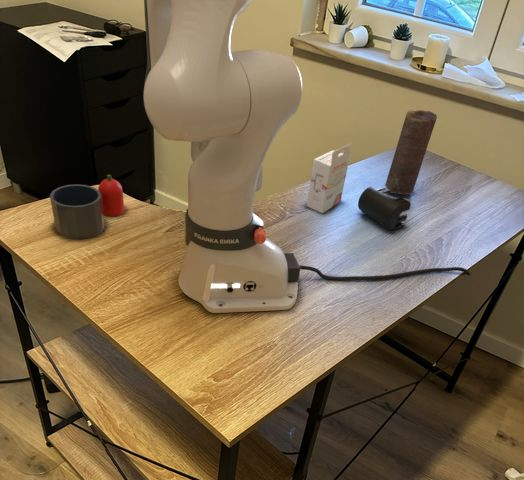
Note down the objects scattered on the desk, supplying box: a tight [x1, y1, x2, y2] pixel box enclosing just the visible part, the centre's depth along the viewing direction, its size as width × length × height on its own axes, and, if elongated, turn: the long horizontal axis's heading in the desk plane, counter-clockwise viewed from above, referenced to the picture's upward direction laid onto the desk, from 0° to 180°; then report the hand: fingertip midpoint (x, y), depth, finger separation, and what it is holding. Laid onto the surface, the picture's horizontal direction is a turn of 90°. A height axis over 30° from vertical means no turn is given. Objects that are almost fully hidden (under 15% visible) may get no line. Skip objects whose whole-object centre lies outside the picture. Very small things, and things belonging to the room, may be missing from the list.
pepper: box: [97, 174, 125, 217], centre depth 113 cm, size 5×5×8 cm
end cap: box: [357, 186, 412, 231], centre depth 123 cm, size 10×7×7 cm
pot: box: [49, 183, 105, 240], centre depth 107 cm, size 10×10×7 cm
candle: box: [384, 109, 438, 196], centre depth 132 cm, size 8×7×20 cm
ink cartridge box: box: [306, 143, 352, 214], centre depth 124 cm, size 9×5×15 cm, turn 143°
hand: (224, 195), depth 123 cm, fingers open, 7 cm apart
